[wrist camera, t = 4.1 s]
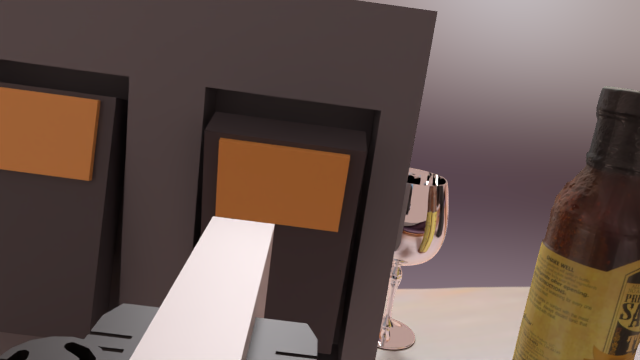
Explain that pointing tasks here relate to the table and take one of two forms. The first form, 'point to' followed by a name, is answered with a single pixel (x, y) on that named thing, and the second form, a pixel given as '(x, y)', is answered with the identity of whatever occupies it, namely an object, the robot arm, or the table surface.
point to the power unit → (235, 98)
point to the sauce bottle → (592, 250)
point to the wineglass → (415, 243)
